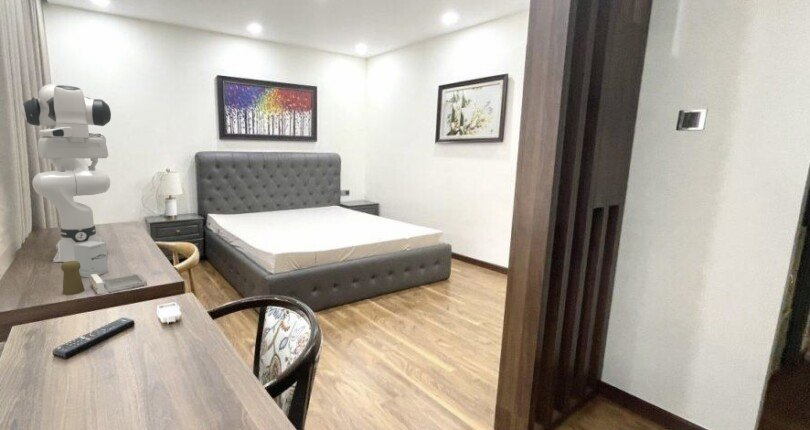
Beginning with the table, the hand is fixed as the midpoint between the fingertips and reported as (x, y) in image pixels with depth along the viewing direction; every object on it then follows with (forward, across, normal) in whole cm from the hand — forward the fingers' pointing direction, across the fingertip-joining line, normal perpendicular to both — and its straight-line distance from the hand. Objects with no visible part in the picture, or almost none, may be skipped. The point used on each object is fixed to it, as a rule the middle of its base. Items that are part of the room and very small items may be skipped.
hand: (77, 171), depth 144 cm
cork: (+42, +9, +8) cm, 43 cm away
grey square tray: (+42, -4, +16) cm, 45 cm away
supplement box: (+42, -4, -6) cm, 42 cm away
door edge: (+42, +4, +12) cm, 44 cm away
